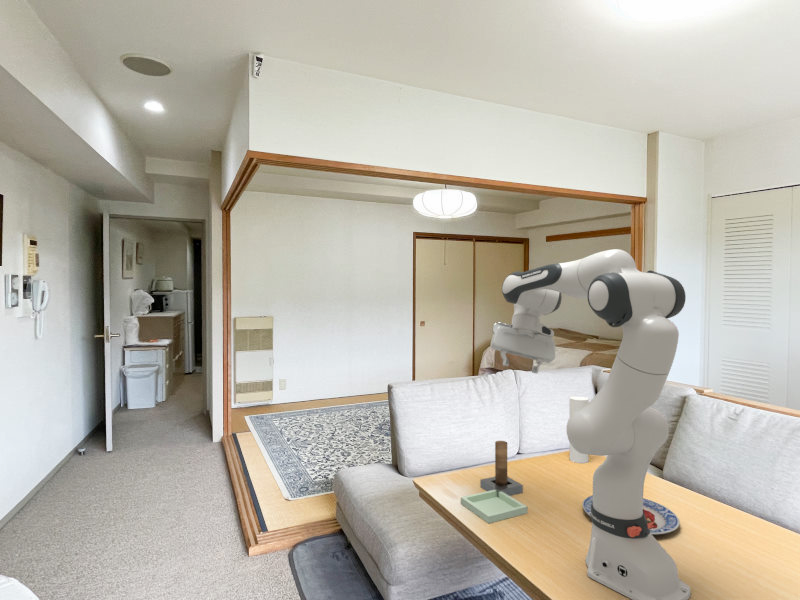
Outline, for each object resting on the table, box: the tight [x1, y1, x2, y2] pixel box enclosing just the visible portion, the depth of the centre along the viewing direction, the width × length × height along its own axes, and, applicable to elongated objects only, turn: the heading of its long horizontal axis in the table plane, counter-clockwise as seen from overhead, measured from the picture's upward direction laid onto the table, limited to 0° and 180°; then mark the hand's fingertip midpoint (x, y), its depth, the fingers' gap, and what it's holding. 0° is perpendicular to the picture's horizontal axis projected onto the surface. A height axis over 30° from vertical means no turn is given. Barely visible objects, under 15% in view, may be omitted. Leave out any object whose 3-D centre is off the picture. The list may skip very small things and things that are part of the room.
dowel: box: [494, 440, 508, 486], centre depth 157 cm, size 4×4×16 cm
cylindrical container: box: [569, 395, 590, 464], centre depth 186 cm, size 7×7×25 cm
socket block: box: [479, 476, 524, 497], centre depth 157 cm, size 10×10×3 cm
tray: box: [460, 490, 529, 524], centre depth 143 cm, size 14×14×2 cm
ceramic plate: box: [582, 494, 680, 536], centre depth 137 cm, size 26×26×3 cm
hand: (520, 369), depth 144 cm, fingers open, 8 cm apart
